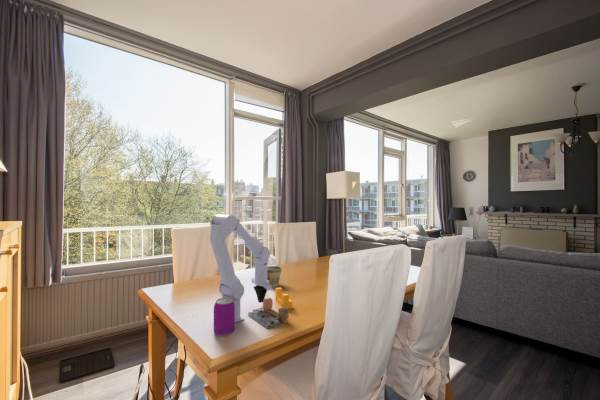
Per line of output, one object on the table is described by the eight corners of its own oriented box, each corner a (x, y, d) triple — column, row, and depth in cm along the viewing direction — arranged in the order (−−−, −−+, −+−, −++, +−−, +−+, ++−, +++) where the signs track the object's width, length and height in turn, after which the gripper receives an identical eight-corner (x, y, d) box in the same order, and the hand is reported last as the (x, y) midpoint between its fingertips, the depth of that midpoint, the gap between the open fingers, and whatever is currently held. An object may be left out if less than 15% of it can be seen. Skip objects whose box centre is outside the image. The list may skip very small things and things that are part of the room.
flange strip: (267, 328, 112) (267, 324, 112) (248, 315, 124) (248, 311, 124) (280, 324, 115) (280, 320, 115) (260, 312, 128) (260, 308, 128)
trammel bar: (269, 327, 113) (269, 313, 113) (250, 315, 124) (250, 302, 124) (288, 321, 118) (288, 308, 118) (269, 310, 130) (269, 298, 130)
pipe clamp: (292, 308, 133) (292, 294, 133) (283, 309, 131) (283, 295, 131) (283, 299, 144) (283, 287, 144) (275, 301, 142) (275, 288, 142)
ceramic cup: (280, 288, 162) (280, 270, 162) (263, 287, 163) (263, 270, 163) (282, 281, 175) (282, 264, 175) (266, 281, 176) (266, 264, 176)
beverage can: (235, 327, 113) (235, 296, 113) (233, 336, 105) (234, 303, 105) (215, 328, 112) (215, 297, 112) (212, 337, 104) (212, 304, 104)
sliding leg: (253, 313, 122) (253, 303, 122) (251, 311, 124) (251, 302, 124) (272, 308, 128) (272, 299, 128) (269, 306, 130) (270, 297, 130)
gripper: (277, 274, 129) (276, 304, 129) (260, 267, 141) (260, 295, 141) (263, 276, 125) (263, 308, 125) (247, 270, 136) (247, 298, 136)
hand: (260, 301), depth 133 cm, fingers closed
